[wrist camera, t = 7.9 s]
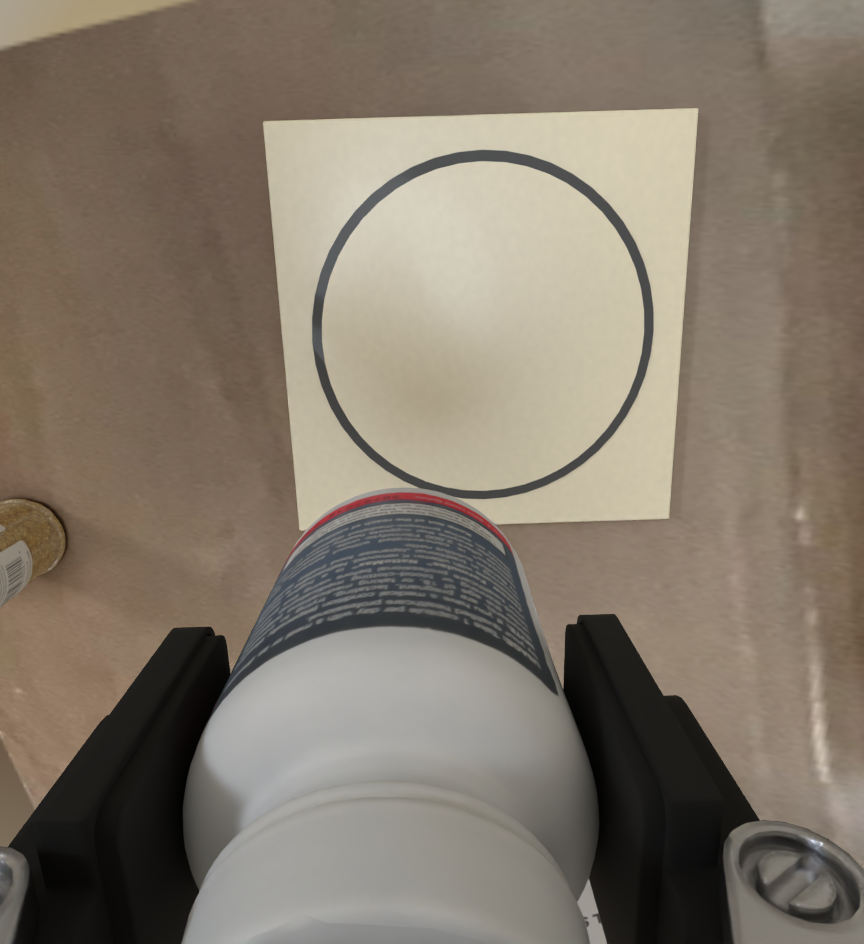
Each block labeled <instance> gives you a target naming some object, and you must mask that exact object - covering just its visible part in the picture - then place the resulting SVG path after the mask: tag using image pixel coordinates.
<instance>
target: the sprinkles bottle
mask: <svg viewBox="0 0 864 944" xmlns="http://www.w3.org/2000/svg"><path fill="white" fill-rule="evenodd" d="M64 551H65V533H64V530H63V528H62V525H61V524H60V522H59V521H58V519H57V518H56V516H55V515H54V514H53V513H52V512H51V511H50V510H49V509H47V508H46V507H44V506H43V505H41V504H39V503H36V502H32V501H29V500H25V499H9V500H5V501H2V502H0V607H1V606H2V605H4V604H5V603H6V602H8V601H9V600H10V599H11V598H13V597H14V596H15V595H17V594H18V593H19V592H20V591H21V590H22V589H23V588H24V587H25V586H26V585H27V584H29V583H30V582H31V581H33V580H34V579H35V578H36V577H37V576H39V575H42V574H44V573H47V572H48V571H50V570H51V569H53V568H54V567H55V566H56V565H57V564H58V563H59V561H60V559H61V558H62V556H63V552H64Z"/></svg>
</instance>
